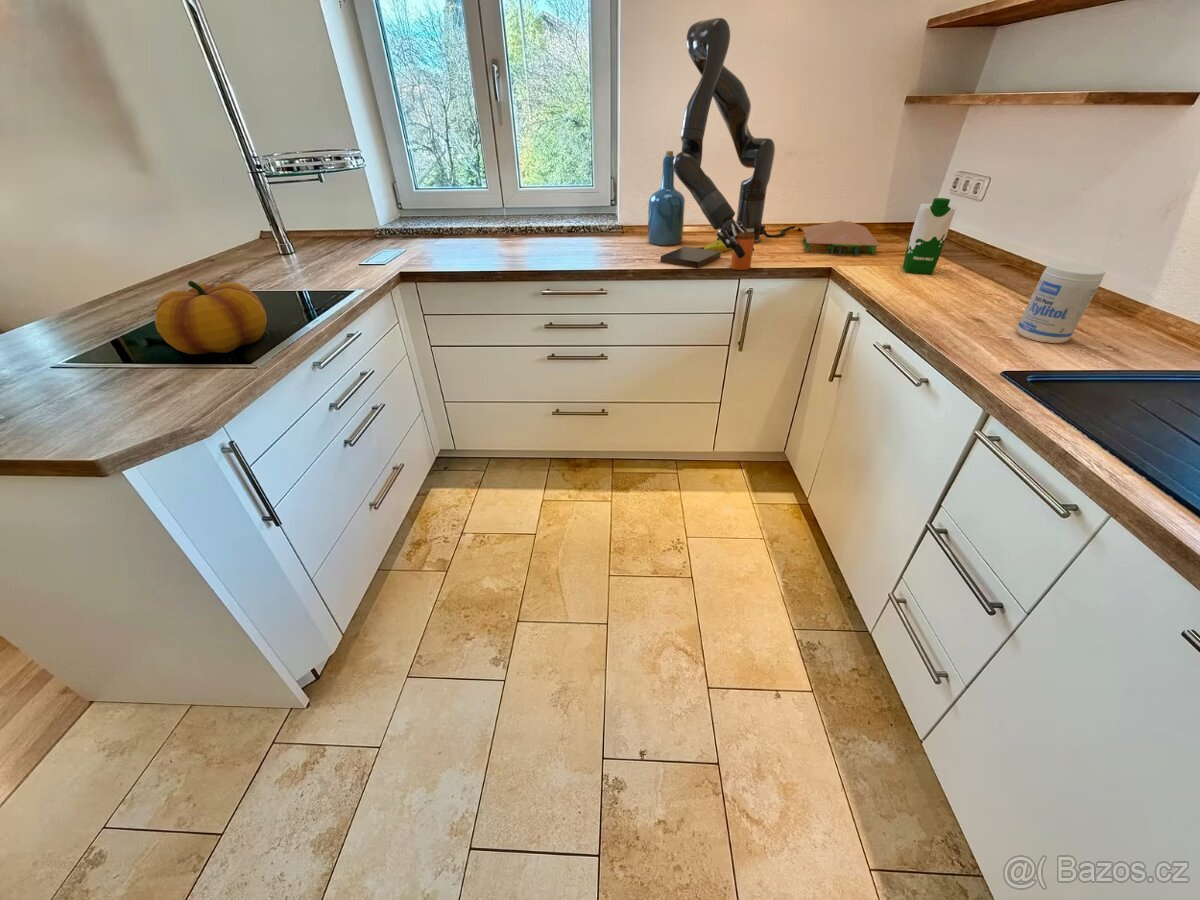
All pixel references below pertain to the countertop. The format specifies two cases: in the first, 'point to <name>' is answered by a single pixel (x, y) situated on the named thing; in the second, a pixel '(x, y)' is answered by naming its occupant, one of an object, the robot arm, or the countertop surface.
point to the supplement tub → (1059, 301)
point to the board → (690, 257)
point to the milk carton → (928, 236)
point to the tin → (747, 245)
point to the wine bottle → (666, 209)
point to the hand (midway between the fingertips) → (747, 254)
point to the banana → (716, 246)
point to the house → (840, 236)
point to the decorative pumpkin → (210, 318)
